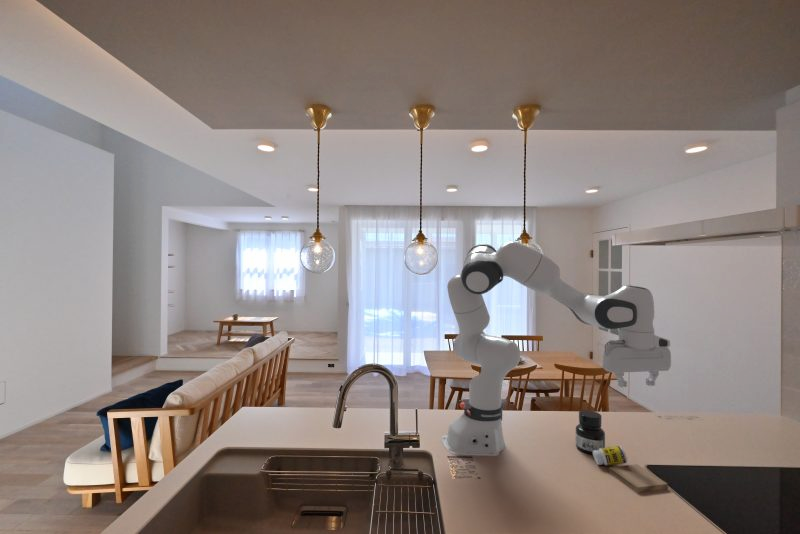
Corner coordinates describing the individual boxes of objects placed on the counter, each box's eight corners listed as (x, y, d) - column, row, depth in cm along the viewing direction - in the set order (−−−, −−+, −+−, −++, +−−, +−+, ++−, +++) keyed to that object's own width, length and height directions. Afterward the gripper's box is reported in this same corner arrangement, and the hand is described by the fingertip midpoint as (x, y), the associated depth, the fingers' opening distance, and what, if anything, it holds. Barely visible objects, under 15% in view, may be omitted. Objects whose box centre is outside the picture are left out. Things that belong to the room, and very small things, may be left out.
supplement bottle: (629, 461, 103) (600, 466, 104) (625, 463, 106) (597, 467, 108) (621, 444, 105) (593, 448, 107) (618, 446, 109) (590, 450, 110)
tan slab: (637, 494, 93) (637, 487, 93) (608, 473, 103) (608, 467, 103) (667, 490, 95) (667, 483, 95) (637, 470, 105) (636, 464, 105)
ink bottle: (571, 449, 116) (571, 413, 117) (577, 439, 123) (577, 406, 123) (603, 459, 110) (603, 422, 110) (608, 448, 117) (608, 413, 117)
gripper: (613, 342, 97) (613, 391, 97) (675, 341, 100) (675, 388, 100) (597, 338, 103) (597, 384, 103) (656, 337, 106) (656, 381, 106)
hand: (636, 386), depth 102 cm, fingers open, 8 cm apart
